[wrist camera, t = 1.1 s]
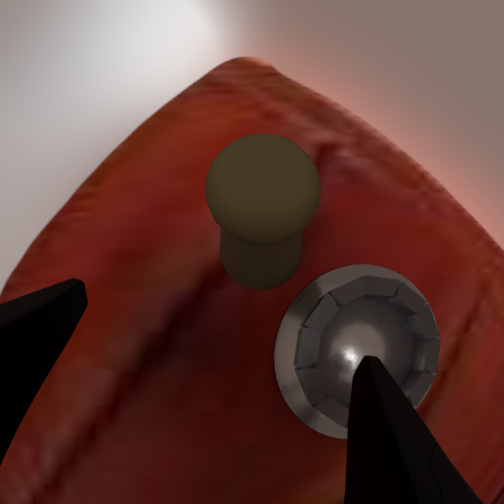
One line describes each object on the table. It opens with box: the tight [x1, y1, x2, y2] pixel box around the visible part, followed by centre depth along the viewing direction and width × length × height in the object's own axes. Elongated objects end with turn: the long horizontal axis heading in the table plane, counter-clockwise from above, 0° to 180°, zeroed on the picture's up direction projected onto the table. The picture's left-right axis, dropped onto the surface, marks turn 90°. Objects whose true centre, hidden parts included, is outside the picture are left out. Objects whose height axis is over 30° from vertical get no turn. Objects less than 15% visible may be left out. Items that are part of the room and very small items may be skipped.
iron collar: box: [274, 264, 440, 439], centre depth 19 cm, size 13×13×3 cm
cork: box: [205, 134, 321, 290], centre depth 17 cm, size 6×6×11 cm
